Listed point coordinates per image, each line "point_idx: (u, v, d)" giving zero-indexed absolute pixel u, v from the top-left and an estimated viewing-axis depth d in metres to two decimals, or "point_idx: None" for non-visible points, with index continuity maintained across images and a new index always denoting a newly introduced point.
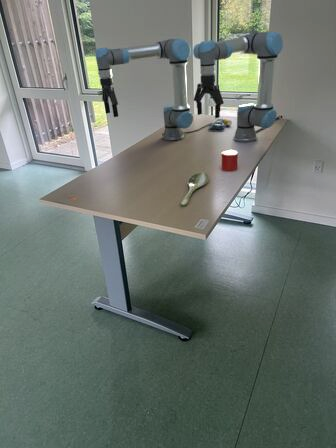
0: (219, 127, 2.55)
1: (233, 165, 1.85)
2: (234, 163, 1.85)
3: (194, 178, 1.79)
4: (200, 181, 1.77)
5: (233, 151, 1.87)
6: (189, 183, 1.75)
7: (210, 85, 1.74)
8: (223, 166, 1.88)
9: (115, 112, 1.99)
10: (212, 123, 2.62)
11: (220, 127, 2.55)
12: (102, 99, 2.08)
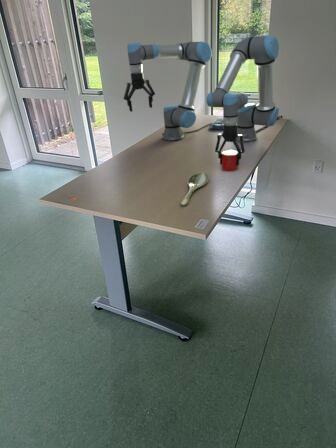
0: (219, 127, 2.55)
1: (233, 165, 1.85)
2: (234, 163, 1.85)
3: (194, 178, 1.79)
4: (200, 181, 1.77)
5: (233, 151, 1.87)
6: (189, 183, 1.75)
7: (235, 134, 1.78)
8: (223, 166, 1.88)
9: None
10: (212, 123, 2.62)
11: (220, 127, 2.55)
12: (126, 98, 2.00)
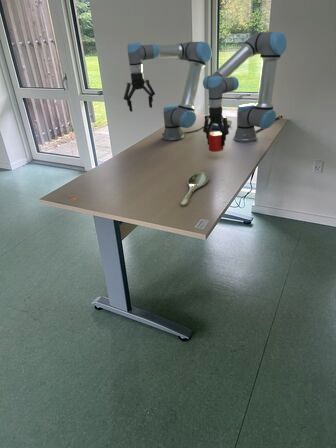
0: None
1: (217, 146, 1.97)
2: (218, 144, 1.96)
3: (194, 178, 1.79)
4: (200, 181, 1.77)
5: (220, 133, 1.97)
6: (189, 183, 1.75)
7: (219, 116, 1.89)
8: (209, 146, 2.00)
9: None
10: None
11: None
12: (126, 98, 2.00)
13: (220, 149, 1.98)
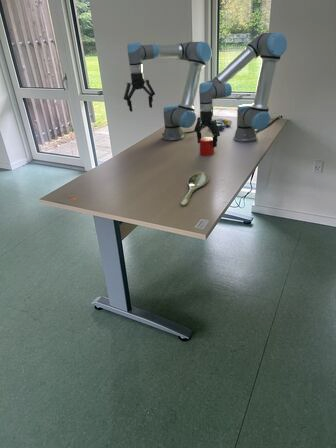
0: (219, 127, 2.55)
1: (206, 150, 2.09)
2: (207, 149, 2.09)
3: (194, 178, 1.79)
4: (200, 181, 1.77)
5: (211, 138, 2.10)
6: (189, 183, 1.75)
7: (208, 119, 2.01)
8: (200, 150, 2.13)
9: None
10: None
11: (220, 127, 2.55)
12: (126, 98, 2.00)
13: (209, 154, 2.11)
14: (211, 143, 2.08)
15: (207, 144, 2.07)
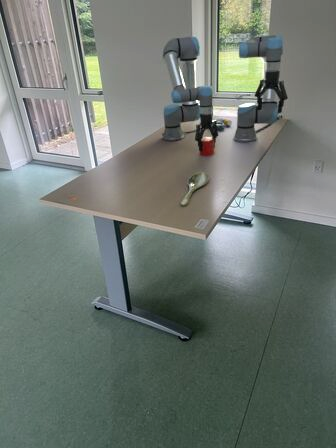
0: (219, 127, 2.55)
1: (206, 150, 2.09)
2: (207, 149, 2.09)
3: (194, 178, 1.79)
4: (200, 181, 1.77)
5: (211, 138, 2.10)
6: (189, 183, 1.75)
7: (275, 81, 1.79)
8: None
9: None
10: None
11: (220, 127, 2.55)
12: (197, 140, 2.05)
13: (209, 154, 2.11)
14: (211, 143, 2.08)
15: (207, 144, 2.07)
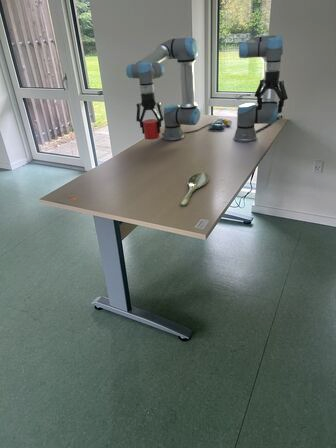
0: (219, 127, 2.55)
1: (145, 133, 1.95)
2: (146, 131, 1.94)
3: (194, 178, 1.79)
4: (200, 181, 1.77)
5: (153, 121, 1.93)
6: (189, 183, 1.75)
7: (275, 81, 1.79)
8: None
9: (159, 128, 1.95)
10: (212, 123, 2.62)
11: (220, 127, 2.55)
12: (137, 119, 1.94)
13: (148, 137, 1.95)
14: (149, 126, 1.91)
15: (145, 126, 1.93)
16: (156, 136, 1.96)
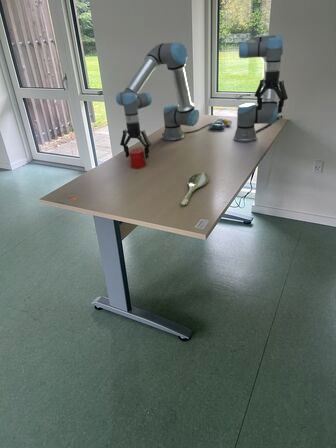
0: (219, 127, 2.55)
1: (131, 162, 2.02)
2: (131, 161, 2.01)
3: (194, 178, 1.79)
4: (200, 181, 1.77)
5: (138, 151, 1.99)
6: (189, 183, 1.75)
7: (275, 81, 1.79)
8: None
9: (147, 154, 1.99)
10: (212, 123, 2.62)
11: (220, 127, 2.55)
12: (121, 144, 2.01)
13: (133, 166, 2.02)
14: (134, 156, 1.98)
15: (130, 156, 2.00)
16: (141, 165, 2.02)
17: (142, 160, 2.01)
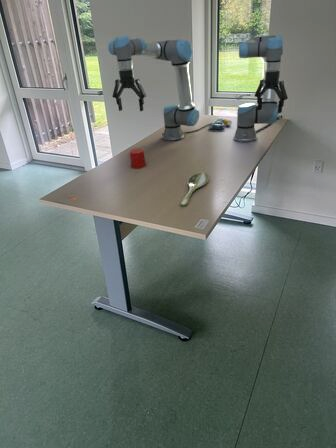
0: (219, 127, 2.55)
1: (131, 162, 2.02)
2: (131, 161, 2.01)
3: (194, 178, 1.79)
4: (200, 181, 1.77)
5: (138, 151, 1.99)
6: (189, 183, 1.75)
7: (275, 81, 1.79)
8: None
9: (141, 106, 1.84)
10: (212, 123, 2.62)
11: (220, 127, 2.55)
12: (113, 96, 1.87)
13: (133, 166, 2.02)
14: (134, 156, 1.98)
15: (130, 156, 2.00)
16: (141, 165, 2.02)
17: (142, 160, 2.01)
